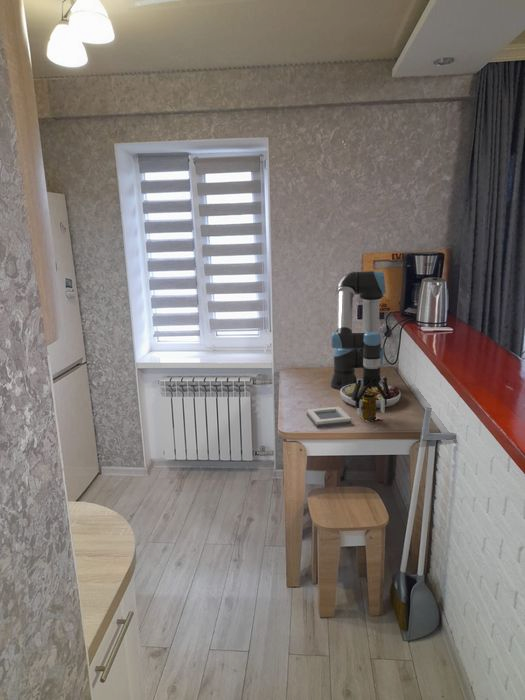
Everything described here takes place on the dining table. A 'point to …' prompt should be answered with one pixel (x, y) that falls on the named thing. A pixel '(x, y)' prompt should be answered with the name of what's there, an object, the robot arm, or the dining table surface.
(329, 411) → the pocket plate
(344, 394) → the bowl
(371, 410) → the condiment
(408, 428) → the dining table surface
